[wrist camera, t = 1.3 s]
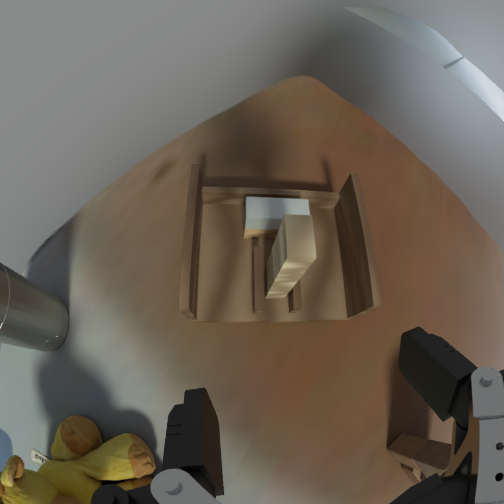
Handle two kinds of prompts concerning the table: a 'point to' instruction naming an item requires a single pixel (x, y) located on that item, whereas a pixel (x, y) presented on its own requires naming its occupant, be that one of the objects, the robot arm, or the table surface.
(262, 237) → the oak offcut
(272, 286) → the tan wooden bar
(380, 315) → the table surface
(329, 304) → the brown wooden tray
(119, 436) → the yellow stuffed toy
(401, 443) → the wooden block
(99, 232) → the table surface
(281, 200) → the grey offcut
